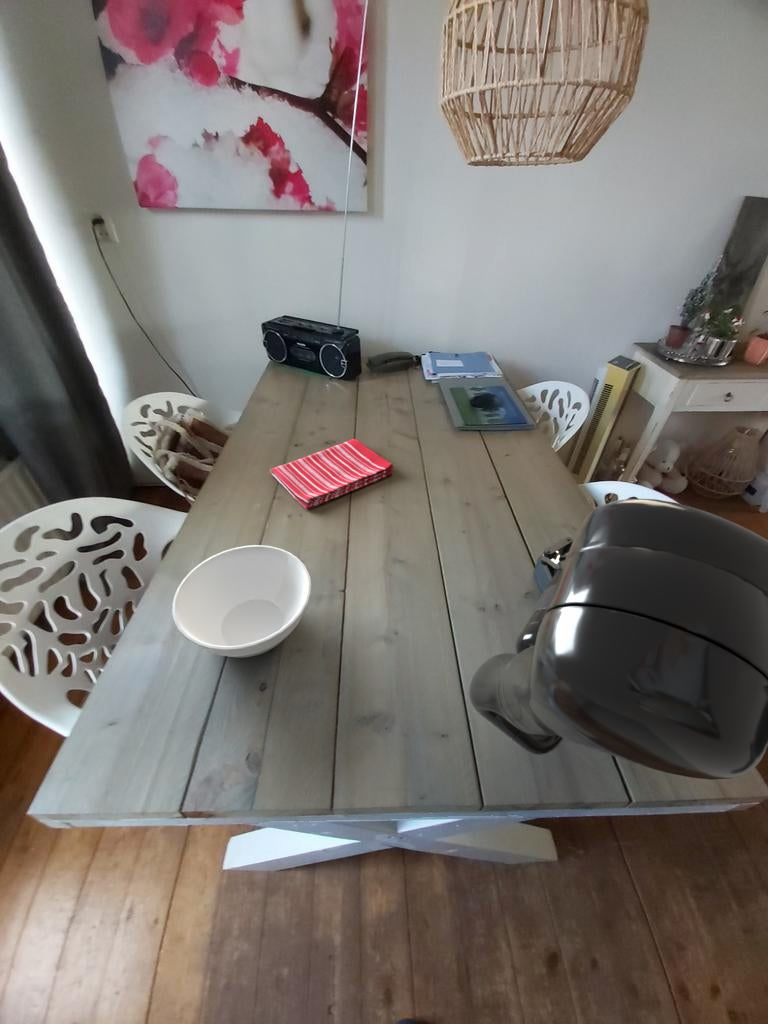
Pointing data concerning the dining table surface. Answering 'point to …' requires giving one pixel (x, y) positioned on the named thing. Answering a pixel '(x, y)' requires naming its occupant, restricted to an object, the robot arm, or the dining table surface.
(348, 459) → the dish towel
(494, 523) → the dining table surface
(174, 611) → the bowl
